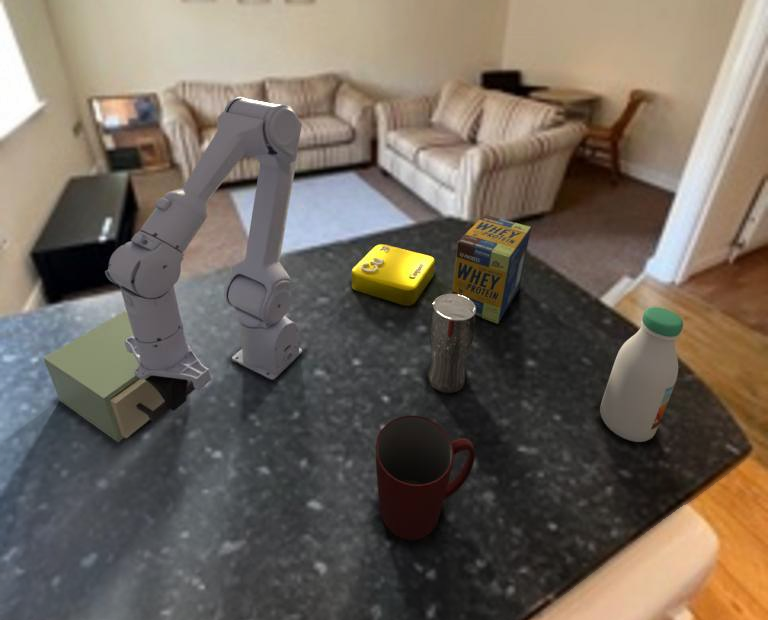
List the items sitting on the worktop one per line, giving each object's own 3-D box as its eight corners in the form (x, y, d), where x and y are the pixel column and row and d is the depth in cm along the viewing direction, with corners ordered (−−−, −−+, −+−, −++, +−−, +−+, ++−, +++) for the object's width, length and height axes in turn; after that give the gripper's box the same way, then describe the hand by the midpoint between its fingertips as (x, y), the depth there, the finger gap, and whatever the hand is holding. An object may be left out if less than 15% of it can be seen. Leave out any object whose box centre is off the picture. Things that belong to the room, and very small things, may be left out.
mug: (454, 464, 61) (462, 406, 56) (480, 532, 53) (492, 471, 49) (368, 481, 59) (369, 421, 54) (382, 555, 51) (385, 493, 46)
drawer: (212, 394, 70) (205, 361, 67) (145, 452, 61) (135, 417, 58) (139, 353, 77) (130, 321, 74) (70, 399, 68) (57, 365, 65)
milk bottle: (632, 452, 63) (675, 342, 55) (587, 411, 70) (619, 307, 61) (666, 431, 67) (711, 324, 58) (620, 394, 73) (655, 293, 64)
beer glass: (471, 371, 76) (482, 300, 70) (460, 401, 71) (470, 326, 64) (433, 358, 79) (440, 288, 73) (419, 386, 73) (425, 312, 67)
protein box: (449, 306, 93) (456, 241, 86) (476, 272, 105) (484, 213, 98) (498, 325, 88) (510, 257, 81) (521, 287, 100) (532, 225, 93)
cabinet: (192, 382, 73) (183, 341, 69) (118, 442, 63) (103, 398, 59) (135, 350, 79) (124, 311, 75) (59, 400, 69) (43, 357, 65)
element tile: (411, 308, 92) (413, 289, 90) (348, 289, 97) (347, 270, 95) (436, 273, 104) (437, 255, 102) (378, 257, 110) (378, 240, 108)
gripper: (94, 327, 58) (118, 404, 64) (168, 368, 52) (189, 448, 57) (143, 299, 64) (162, 371, 69) (216, 332, 57) (230, 409, 63)
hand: (177, 404), depth 64 cm, fingers closed, pressing on drawer
